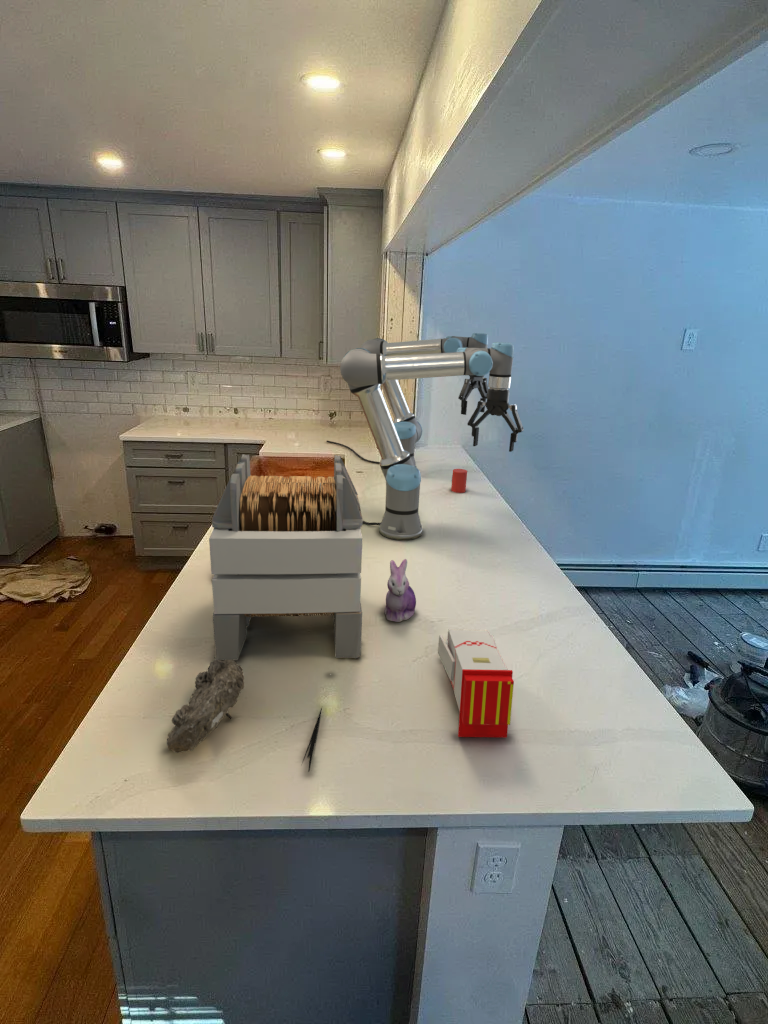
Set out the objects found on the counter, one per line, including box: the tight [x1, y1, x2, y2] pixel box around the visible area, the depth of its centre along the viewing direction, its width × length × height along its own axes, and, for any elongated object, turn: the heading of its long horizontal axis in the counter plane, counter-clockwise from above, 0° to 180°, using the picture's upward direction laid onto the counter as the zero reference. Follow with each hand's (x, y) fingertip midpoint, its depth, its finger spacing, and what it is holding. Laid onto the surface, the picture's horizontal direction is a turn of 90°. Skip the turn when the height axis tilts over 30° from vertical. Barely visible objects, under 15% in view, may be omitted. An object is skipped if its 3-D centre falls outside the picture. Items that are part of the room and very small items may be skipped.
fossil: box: [166, 659, 245, 754], centre depth 106 cm, size 22×10×15 cm
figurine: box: [384, 558, 417, 623], centre depth 145 cm, size 9×10×15 cm
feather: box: [301, 673, 332, 771], centre depth 108 cm, size 2×28×2 cm
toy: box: [437, 628, 515, 738], centre depth 117 cm, size 12×13×30 cm
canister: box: [450, 468, 468, 494], centre depth 249 cm, size 6×6×9 cm
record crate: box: [208, 453, 364, 661], centre depth 135 cm, size 34×33×41 cm
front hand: (492, 448), depth 205 cm, fingers open, 13 cm apart
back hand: (472, 413), depth 272 cm, fingers open, 13 cm apart
